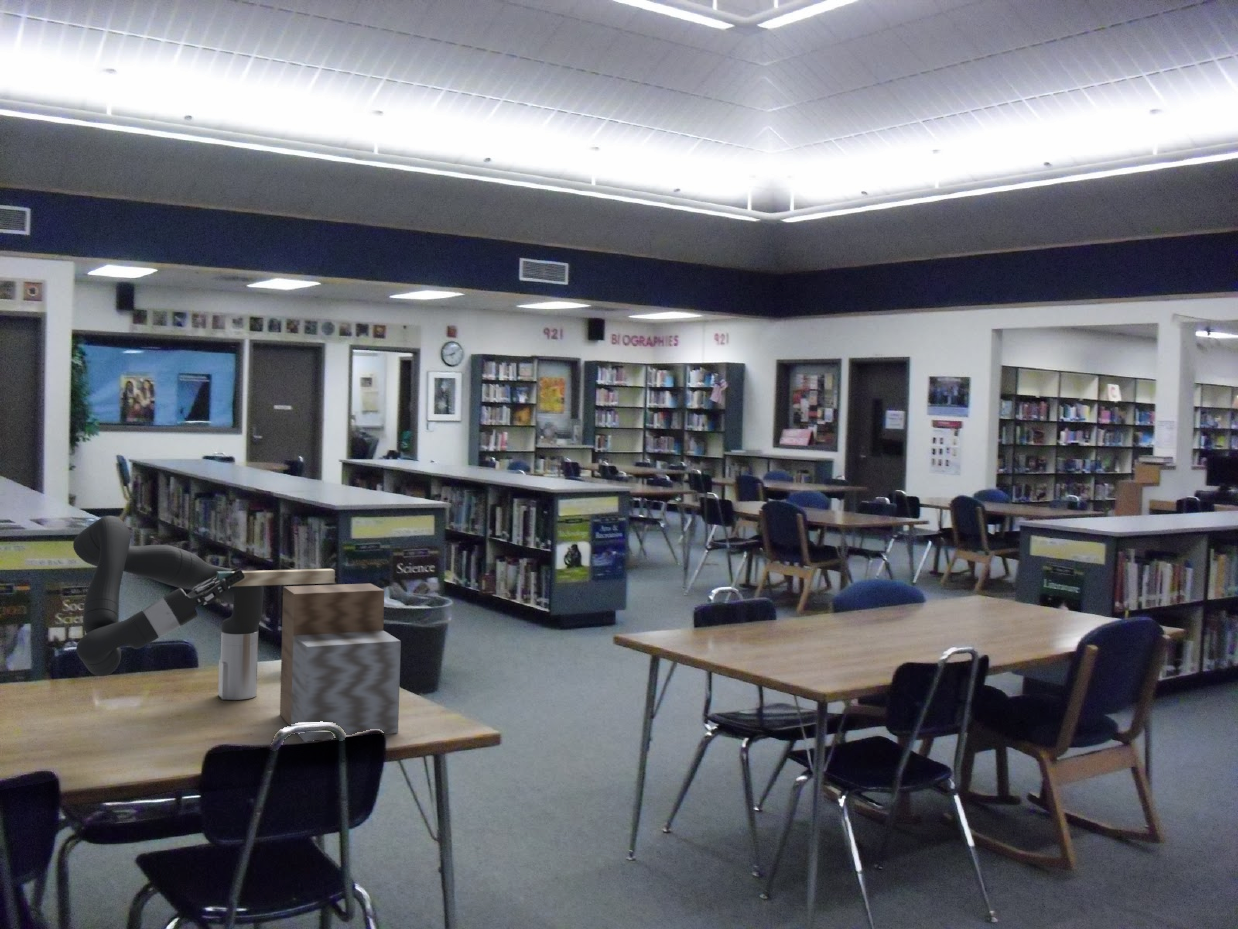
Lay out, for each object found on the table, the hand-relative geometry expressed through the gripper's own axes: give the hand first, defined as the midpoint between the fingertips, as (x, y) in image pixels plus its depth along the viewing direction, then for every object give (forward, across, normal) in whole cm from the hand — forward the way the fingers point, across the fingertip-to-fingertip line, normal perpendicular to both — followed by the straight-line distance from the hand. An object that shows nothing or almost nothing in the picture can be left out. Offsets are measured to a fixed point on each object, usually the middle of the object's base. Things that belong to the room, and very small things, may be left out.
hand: (240, 572), depth 260 cm
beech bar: (+5, 0, +7) cm, 9 cm away
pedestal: (+2, +6, +46) cm, 46 cm away
